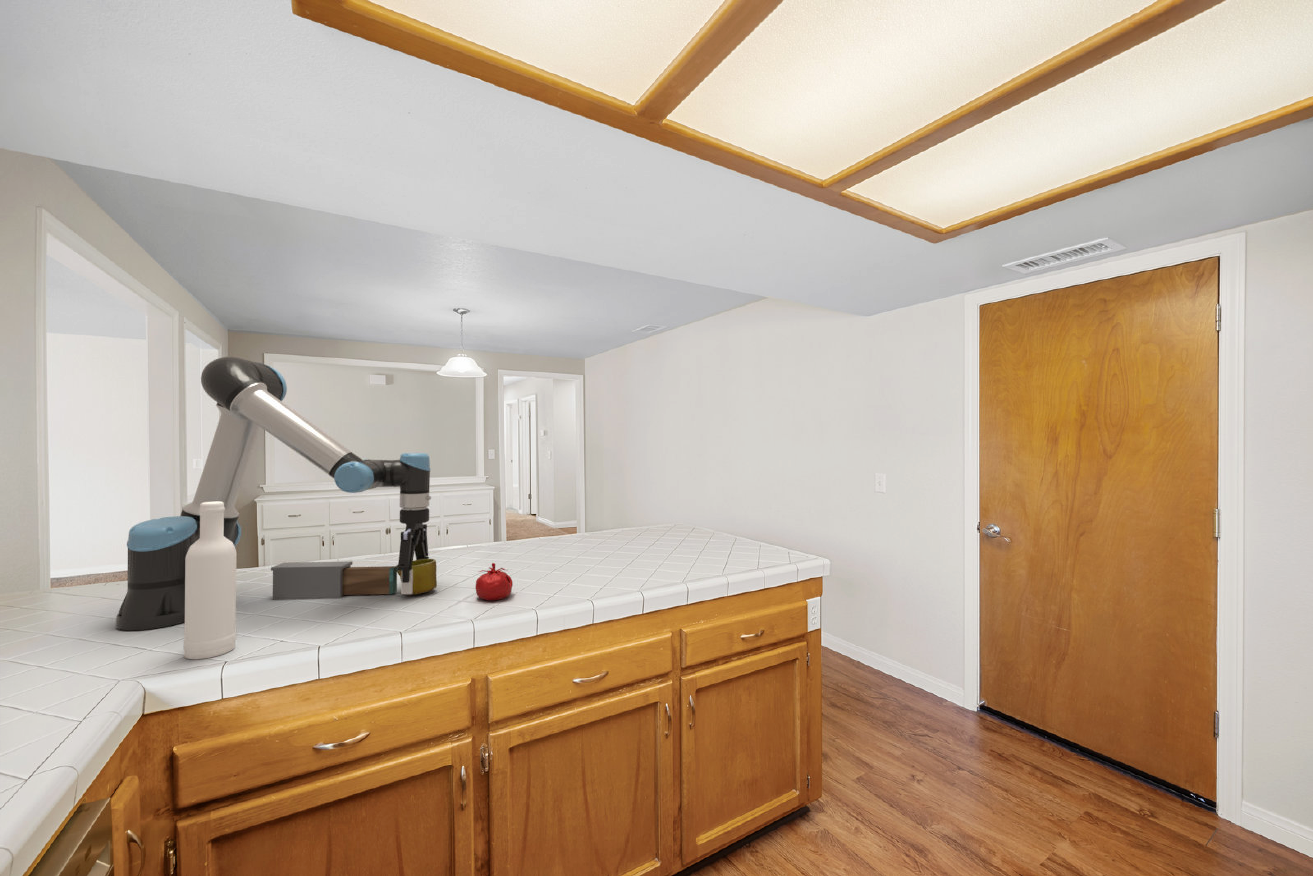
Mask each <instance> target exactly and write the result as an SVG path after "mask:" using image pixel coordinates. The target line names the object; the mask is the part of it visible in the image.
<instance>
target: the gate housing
mask: <svg viewBox="0 0 1313 876" xmlns="http://www.w3.org/2000/svg"><path fill="white" fill-rule="evenodd" d="M352 565H353V561H316V562H315V561H305V562H304V561H302V562H301V561H300V562H296V561H295V562H292V561H291V562H282V563H279V564H277V565H274V566H271V567H270V571H272V600H274V601H275V600H301V599H302V600H303V599H305V600H309V599H340V598H342V597H343V595H342V587H343V569H344V568H346V567H352Z"/></svg>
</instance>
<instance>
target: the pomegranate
mask: <svg viewBox="0 0 1313 876" xmlns="http://www.w3.org/2000/svg"><path fill="white" fill-rule="evenodd" d="M488 569H490V570H483V569H482V570H480V571H478V573H481V572H486V573H483V574H481V575H480V576H479V577H478V578H477V579H476V580H475V587H474V588H475V593H476V596H477V597H478V598H479V599H482V600H486V601H497V600H498V601H499V600H503V599H506V598H507V597H509V596H510V595H511V593H512V590H513V589H512V588H513V586H514V585H513V583H514V582H513V580H512V577H511V576H510V575H508V574H507V572H508V571H509V570H508V569H505V568H503V567H500V568H498V569H496V563H495V562H492V563H491V567H488ZM505 571H507V572H505Z"/></svg>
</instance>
